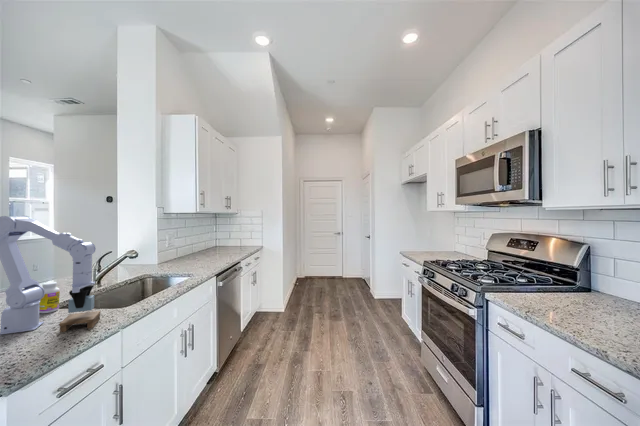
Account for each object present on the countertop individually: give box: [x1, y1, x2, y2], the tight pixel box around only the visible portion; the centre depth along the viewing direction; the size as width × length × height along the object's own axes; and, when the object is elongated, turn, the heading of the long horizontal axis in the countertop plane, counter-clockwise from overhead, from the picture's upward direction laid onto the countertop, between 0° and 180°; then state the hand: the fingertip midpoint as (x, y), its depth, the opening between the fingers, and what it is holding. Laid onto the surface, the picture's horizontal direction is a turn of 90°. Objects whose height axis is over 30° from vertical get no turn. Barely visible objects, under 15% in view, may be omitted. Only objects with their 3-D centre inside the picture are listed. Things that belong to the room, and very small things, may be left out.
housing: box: [67, 294, 95, 314], centre depth 107 cm, size 7×4×6 cm, turn 117°
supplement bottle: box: [39, 281, 61, 314], centre depth 121 cm, size 7×7×13 cm
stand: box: [59, 310, 101, 333], centre depth 107 cm, size 10×10×4 cm
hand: (81, 305), depth 107 cm, fingers closed on housing, 4 cm apart
